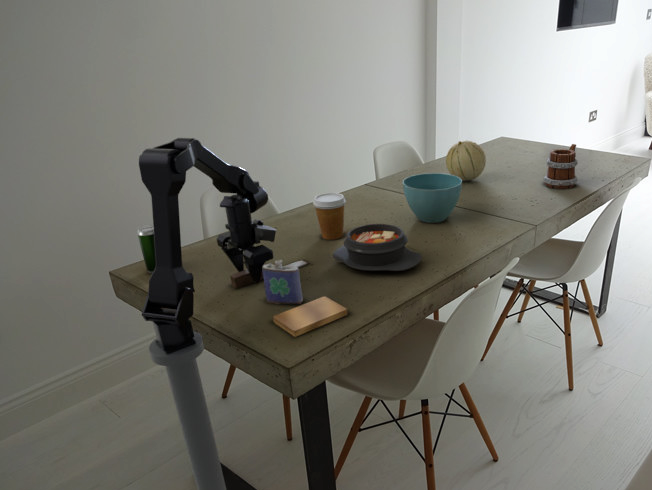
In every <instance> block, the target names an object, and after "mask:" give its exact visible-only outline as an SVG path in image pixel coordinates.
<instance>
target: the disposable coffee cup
mask: <svg viewBox="0 0 652 490" xmlns="http://www.w3.org/2000/svg"><path fill="white" fill-rule="evenodd" d="M346 203H347V200H346V198H345V196H344V195H343V194H342V193H338V192H325V193H320V194H317V195H316V196H314V199H313V201H312V205H313V206H314V209H315V212H316V216H317V221H318V225H319V229H320V232H321V237H322V239H324V240H337V239H341V238H343V236H344V225H345V224H344V223H345V205H346Z"/></svg>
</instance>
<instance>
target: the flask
mask: <svg viewBox="0 0 652 490" xmlns="http://www.w3.org/2000/svg"><path fill="white" fill-rule="evenodd" d="M283 262H284V260H282V259H279V260H275V261H274V263H275V264H273V263H271V262H269V263H267V264H266V263H265V264H264V265H263V267H262V271H263V277H264V279H263V284H264V291H265V297H266V302H267V303H271V304H277V305H288V306H289V305H291V306H296V305H302V303H303V301H304V299H303V292H302V284H301V278H300V277H301V276H300V270H299V267H288V266H286V265H283Z"/></svg>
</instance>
